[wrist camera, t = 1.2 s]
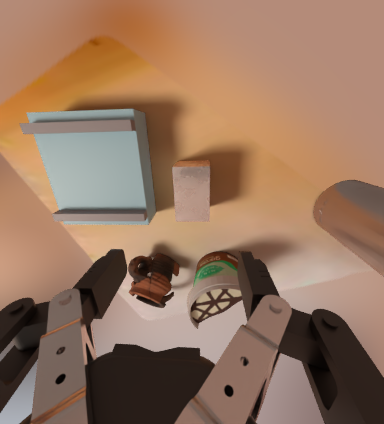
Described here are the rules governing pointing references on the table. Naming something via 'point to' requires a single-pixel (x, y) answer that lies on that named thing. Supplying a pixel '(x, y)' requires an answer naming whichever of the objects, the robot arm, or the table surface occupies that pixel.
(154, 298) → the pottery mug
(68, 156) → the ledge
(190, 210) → the block
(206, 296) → the food container
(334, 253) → the table surface
